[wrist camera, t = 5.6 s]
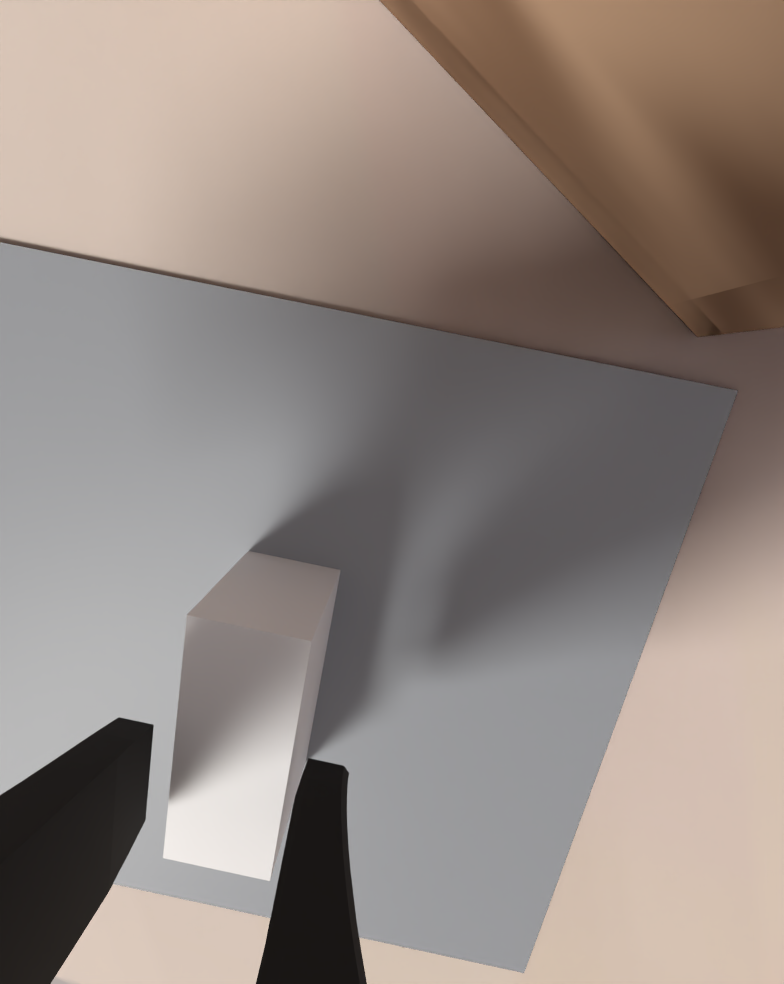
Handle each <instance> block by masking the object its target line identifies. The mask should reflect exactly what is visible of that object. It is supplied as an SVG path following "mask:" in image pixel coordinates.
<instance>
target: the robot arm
mask: <svg viewBox="0 0 784 984" xmlns="http://www.w3.org/2000/svg"><path fill="white" fill-rule="evenodd" d="M153 728H154V725H153V724H148V723H144V722H139V721H134V720H130V719H125V718H120V717H118V718H117V719H115V720H114V721H112V722H110V723H109V724H107V725H106V726H104V727H103V728H101V729H100V730H98V731H96V732H95V733H93V734H92V735H90V736H89V737H87V738H86V739H84V740H83V741H81V742H80V743H78V744H77V745H75V746H74V747H72V748H71V749H70V750H68V751H67V752H65V753H64V754H62V755H61V756H59V757H58V758H56V759H55V760H53V761H52V762H50V763H49V764H47V765H46V766H44V767H42V768H41V769H39V770H38V771H36V772H35V773H33V774H32V775H30V776H29V777H27V778H26V779H24V780H23V781H21V782H20V783H18V784H17V785H15V786H14V787H12V788H10V789H9V790H7V791H6V792H4V793H3V794H1V795H0V984H50V983H51V982H52V980H53V979H54V977H55V976H56V974H57V972H58V971H59V969H60V968H61V966H62V965H63V963H64V962H65V960H66V958H67V957H68V955H69V954H70V952H71V951H72V949H73V947H74V946H75V944H76V943H77V941H78V940H79V938H80V936H81V935H82V933H83V932H84V930H85V929H86V927H87V925H88V924H89V922H90V921H91V919H92V917H93V916H94V914H95V913H96V911H97V910H98V908H99V906H100V905H101V903H102V902H103V900H104V898H105V897H106V895H107V894H108V892H109V890H110V888H111V886H112V885H113V883H114V881H115V879H116V877H117V875H118V873H119V871H120V869H121V868H122V866H123V864H124V862H125V860H126V858H127V856H128V854H129V852H130V850H131V848H132V846H133V844H134V842H135V840H136V838H137V836H138V834H139V832H140V830H141V828H142V826H143V824H144V822H145V820H146V810H147V798H148V786H149V774H150V763H151V751H152V739H153ZM348 777H349V772H348V771H347V769H346V768H345V766H343V765H339V764H334V763H329V762H325V761H320V760H315V759H311V758H308V760H307V763H306V766H305V769H304V771H303V774H302V777H301V780H300V783H299V786H298V789H297V792H296V795H295V799H294V804H293V809H292V814H291V819H290V824H289V829H288V834H287V839H286V844H285V849H284V854H283V859H282V864H281V869H280V874H279V879H278V884H277V889H276V894H275V899H274V904H273V909H272V914H271V919H270V924H269V929H268V934H267V939H266V944H265V948H264V952H263V957H262V961H261V965H260V969H259V973H258V978H257V982H256V984H367V983H366V977H365V971H364V965H363V959H362V953H361V947H360V940H359V934H358V927H357V920H356V912H355V903H354V895H353V887H352V878H351V870H350V858H349V846H348V828H347V788H348Z"/></svg>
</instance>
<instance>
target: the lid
mask: <svg viewBox="0 0 784 984" xmlns="http://www.w3.org/2000/svg"><path fill="white" fill-rule="evenodd" d="M737 392H738V390H733V389H728V388H723V387H718V386H713V385H708V384H703V383H698V382H693V381H688V380H683V379H678V378H673V377H668V376H663V375H658V374H653V373H648V372H643V371H638V370H633V369H628V368H623V367H618V366H613V365H608V364H603V363H598V362H593V361H588V360H583V359H578V358H573V357H568V356H563V355H559V354H554V353H549V352H544V351H539V350H534V349H529V348H524V347H519V346H514V345H509V344H504V343H499V342H494V341H489V340H484V339H479V338H474V337H469V336H464V335H459V334H454V333H449V332H444V331H439V330H434V329H429V328H424V327H419V326H414V325H409V324H404V323H399V322H394V321H389V320H384V319H379V318H375V317H370V316H365V315H360V314H355V313H350V312H345V311H340V310H335V309H330V308H325V307H320V306H315V305H310V304H305V303H300V302H295V301H290V300H285V299H280V298H275V297H270V296H265V295H260V294H255V293H250V292H245V291H240V290H235V289H230V288H225V287H220V286H215V285H210V284H205V283H200V282H195V281H190V280H186V279H181V278H176V277H171V276H166V275H161V274H156V273H151V272H146V271H141V270H136V269H131V268H126V267H121V266H116V265H111V264H106V263H101V262H96V261H91V260H86V259H81V258H76V257H71V256H66V255H61V254H56V253H51V252H46V251H41V250H36V249H31V248H26V247H21V246H16V245H11V244H6V243H2V242H0V795H1V794H3V793H4V792H6V791H7V790H9V789H10V788H12V787H14V786H15V785H17V784H18V783H20V782H21V781H23V780H24V779H26V778H27V777H29V776H30V775H32V774H33V773H35V772H36V771H38V770H39V769H41V768H42V767H44V766H46V765H47V764H49V763H50V762H52V761H53V760H55V759H56V758H58V757H59V756H61V755H62V754H64V753H65V752H67V751H68V750H70V749H71V748H72V747H74V746H75V745H77V744H78V743H80V742H81V741H83V740H84V739H86V738H87V737H89V736H90V735H92V734H93V733H95V732H96V731H98V730H100V729H101V728H103V727H104V726H106V725H107V724H109V723H110V722H112V721H114V720H115V719H117V718H118V717H120V718H125V719H130V720H134V721H139V722H144V723H148V724H153V725H154V728H153V739H152V751H151V763H150V774H149V786H148V798H147V810H146V820H145V822H144V824H143V826H142V828H141V830H140V832H139V834H138V836H137V838H136V840H135V842H134V844H133V846H132V848H131V850H130V852H129V854H128V856H127V858H126V860H125V862H124V864H123V866H122V868H121V869H120V871H119V873H118V875H117V877H116V879H115V881H114V883H113V884H116V885H120V886H125V887H129V888H134V889H139V890H143V891H148V892H152V893H157V894H162V895H166V896H171V897H176V898H180V899H185V900H189V901H194V902H199V903H203V904H208V905H212V906H217V907H222V908H226V909H231V910H235V911H240V912H245V913H249V914H254V915H259V916H263V917H268V918H271V914H272V909H273V904H274V899H275V894H276V889H277V884H278V879H279V874H280V869H281V864H282V859H283V854H284V849H285V844H286V839H287V834H288V829H289V824H290V819H291V814H292V809H293V804H294V799H295V795H296V792H297V789H298V786H299V783H300V780H301V777H302V774H303V771H304V769H305V766H306V763H307V760H308V758H311V759H315V760H320V761H325V762H329V763H334V764H339V765H343V766H345V768H346V769H347V771H348V772H349V777H348V788H347V828H348V846H349V858H350V870H351V878H352V887H353V895H354V903H355V912H356V920H357V927H358V934H359V937H360V938H365V939H369V940H374V941H378V942H383V943H388V944H392V945H397V946H402V947H406V948H411V949H415V950H420V951H425V952H429V953H434V954H438V955H443V956H448V957H452V958H457V959H462V960H466V961H471V962H475V963H480V964H485V965H489V966H494V967H498V968H503V969H508V970H512V971H517V972H521V973H524V971H525V969H526V966H527V963H528V960H529V958H530V955H531V952H532V950H533V947H534V944H535V941H536V939H537V936H538V933H539V931H540V928H541V925H542V922H543V920H544V917H545V914H546V912H547V909H548V906H549V903H550V901H551V898H552V895H553V893H554V890H555V887H556V884H557V882H558V879H559V876H560V874H561V871H562V868H563V865H564V863H565V860H566V857H567V854H568V852H569V849H570V846H571V844H572V841H573V838H574V835H575V833H576V830H577V827H578V825H579V822H580V819H581V816H582V814H583V811H584V808H585V806H586V803H587V800H588V797H589V795H590V792H591V789H592V787H593V784H594V781H595V778H596V776H597V773H598V770H599V768H600V765H601V762H602V759H603V757H604V754H605V751H606V748H607V746H608V743H609V740H610V738H611V735H612V732H613V729H614V727H615V724H616V721H617V719H618V716H619V713H620V710H621V708H622V705H623V702H624V700H625V697H626V694H627V691H628V689H629V686H630V683H631V681H632V678H633V675H634V672H635V670H636V667H637V664H638V662H639V659H640V656H641V653H642V651H643V648H644V645H645V642H646V640H647V637H648V634H649V632H650V629H651V626H652V623H653V621H654V618H655V615H656V613H657V610H658V607H659V604H660V602H661V599H662V596H663V594H664V591H665V588H666V585H667V583H668V580H669V577H670V575H671V572H672V569H673V566H674V564H675V561H676V558H677V556H678V553H679V550H680V547H681V545H682V542H683V539H684V537H685V534H686V531H687V528H688V526H689V523H690V520H691V517H692V515H693V512H694V509H695V507H696V504H697V501H698V498H699V496H700V493H701V490H702V488H703V485H704V482H705V479H706V477H707V474H708V471H709V469H710V466H711V463H712V460H713V458H714V455H715V452H716V450H717V447H718V444H719V441H720V439H721V436H722V433H723V431H724V428H725V425H726V422H727V420H728V417H729V414H730V411H731V409H732V406H733V403H734V401H735V398H736V395H737Z"/></svg>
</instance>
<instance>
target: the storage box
mask: <svg viewBox="0 0 784 984" xmlns="http://www.w3.org/2000/svg"><path fill="white" fill-rule="evenodd" d="M380 1H381V2H382V3H383V4H384V5H385V6H386V8H387V9H388V10H389V11H390V12H391V13H392V14H393V15H394V16H395V17H396V18H397V19H398V20H399V21H400V22H401V23H402V24H403V26H404V27H405V28H406V29H407V30H408V31H409V32H410V33H411V34H412V35H413V36H414V37H415V38H416V39H417V40H418V41H419V43H420V44H421V45H422V46H423V47H424V48H425V49H426V50H427V51H428V52H429V53H430V54H431V55H432V56H433V57H434V58H435V59H436V61H437V62H438V63H439V64H440V65H441V66H442V67H443V68H444V69H445V70H446V71H447V72H448V73H449V74H450V75H451V76H452V77H453V79H454V80H455V81H456V82H457V83H458V84H459V85H460V86H461V87H462V88H463V89H464V90H465V91H466V92H467V93H468V94H469V95H470V97H471V98H472V99H473V100H474V101H475V102H476V103H477V104H478V105H479V106H480V107H481V108H482V109H483V110H484V111H485V112H486V114H487V115H488V116H489V117H490V118H491V119H492V120H493V121H494V122H495V123H496V124H497V125H498V126H499V127H500V128H501V129H502V130H503V132H504V133H505V134H506V135H507V136H508V137H509V138H510V139H511V140H512V141H513V142H514V143H515V144H516V145H517V146H518V147H519V148H520V150H521V151H522V152H523V153H524V154H525V155H526V156H527V157H528V158H529V159H530V160H531V161H532V162H533V163H534V164H535V165H536V167H537V168H538V169H539V170H540V171H541V172H542V173H543V174H544V175H545V176H546V177H547V178H548V179H549V180H550V181H551V182H552V183H553V185H554V186H555V187H556V188H557V189H558V190H559V191H560V192H561V193H562V194H563V195H564V196H565V197H566V198H567V199H568V200H569V201H570V203H571V204H572V205H573V206H574V207H575V208H576V209H577V210H578V211H579V212H580V213H581V214H582V215H583V216H584V217H585V218H586V219H587V221H588V222H589V223H590V224H591V225H592V226H593V227H594V228H595V229H596V230H597V231H598V232H599V233H600V234H601V235H602V236H603V238H604V239H605V240H606V241H607V242H608V243H609V244H610V245H611V246H612V247H613V248H614V249H615V250H616V251H617V252H618V253H619V254H620V256H621V257H622V258H623V259H624V260H625V261H626V262H627V263H628V264H629V265H630V266H631V267H632V268H633V269H634V270H635V271H636V272H637V274H638V275H639V276H640V277H641V278H642V279H643V280H644V281H645V282H646V283H647V284H648V285H649V286H650V287H651V288H652V289H653V290H654V292H655V293H656V294H657V295H658V296H659V297H660V298H661V299H662V300H663V301H664V302H665V303H666V304H667V305H668V306H669V307H670V309H671V310H672V311H673V312H674V313H675V314H676V315H677V316H678V317H679V318H680V319H681V320H682V321H683V322H684V323H685V324H686V325H687V327H688V328H689V329H690V330H691V331H692V332H693V333H694V334H695V335H696V336H697V337H703V336H711V335H720V334H728V333H737V332H745V331H754V330H763V329H771V328H780V327H784V0H380Z"/></svg>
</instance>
